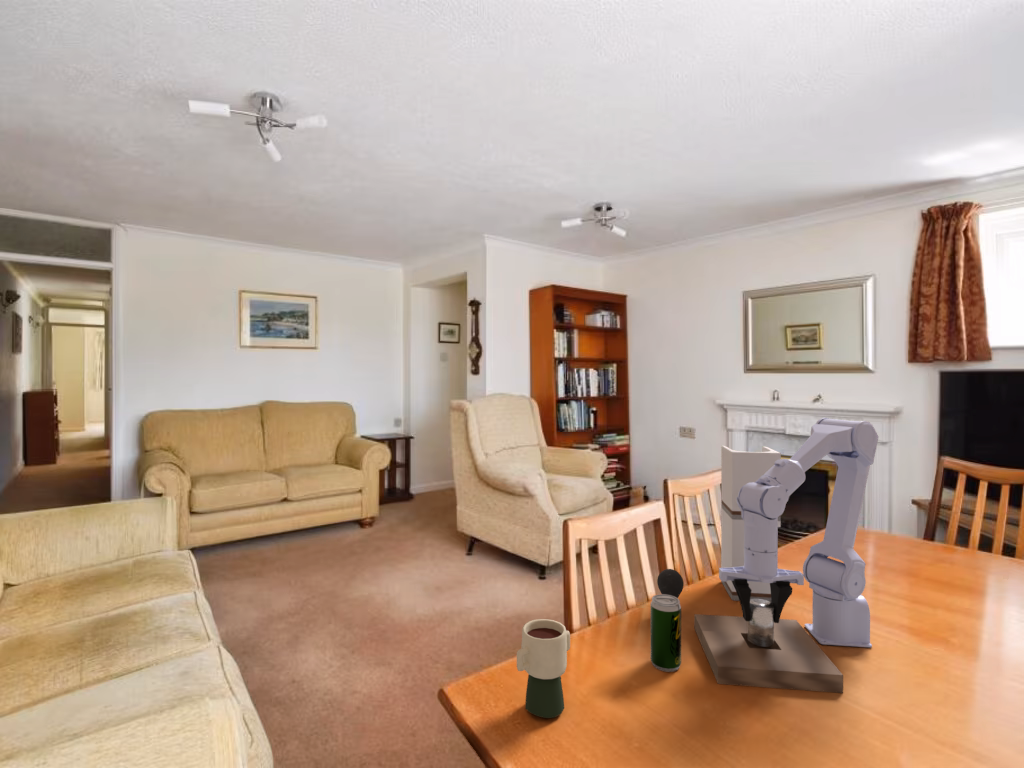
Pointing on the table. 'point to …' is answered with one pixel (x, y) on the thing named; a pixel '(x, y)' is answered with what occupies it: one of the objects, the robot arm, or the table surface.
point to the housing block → (766, 656)
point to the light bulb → (670, 582)
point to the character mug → (544, 665)
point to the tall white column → (734, 476)
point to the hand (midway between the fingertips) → (760, 619)
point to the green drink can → (665, 632)
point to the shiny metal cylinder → (761, 623)
